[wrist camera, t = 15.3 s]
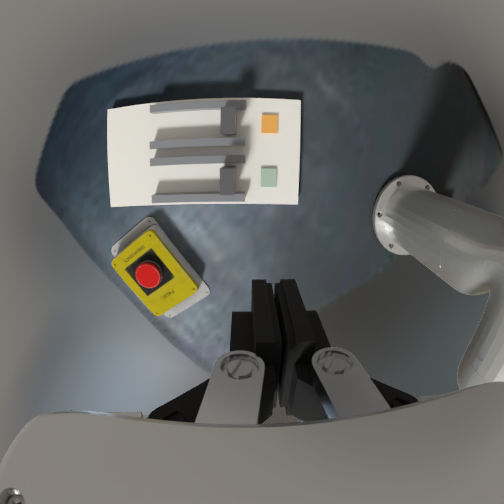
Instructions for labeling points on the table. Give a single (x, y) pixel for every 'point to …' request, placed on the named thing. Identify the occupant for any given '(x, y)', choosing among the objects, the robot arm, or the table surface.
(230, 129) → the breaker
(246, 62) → the table surface
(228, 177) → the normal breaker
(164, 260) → the emergency button
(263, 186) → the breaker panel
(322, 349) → the robot arm
